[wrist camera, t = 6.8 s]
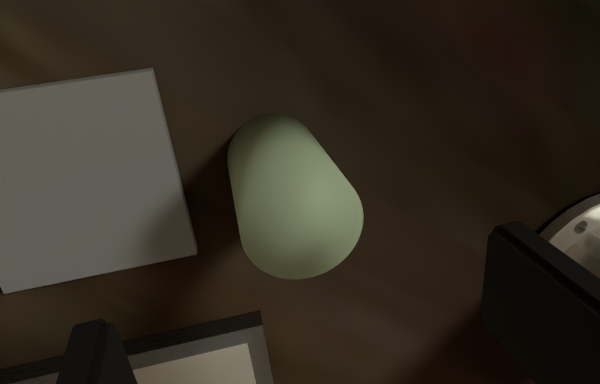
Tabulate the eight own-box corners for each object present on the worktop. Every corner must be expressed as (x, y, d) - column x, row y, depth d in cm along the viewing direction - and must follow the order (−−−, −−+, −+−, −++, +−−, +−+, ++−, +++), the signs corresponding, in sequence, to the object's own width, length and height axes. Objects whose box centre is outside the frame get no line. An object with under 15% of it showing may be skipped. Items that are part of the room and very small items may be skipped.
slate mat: (152, 67, 19) (150, 70, 18) (197, 245, 23) (197, 254, 22) (-80, 101, 18) (-91, 106, 17) (10, 283, 22) (4, 293, 21)
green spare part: (312, 106, 21) (360, 157, 15) (320, 189, 23) (366, 265, 17) (219, 121, 21) (229, 181, 14) (235, 206, 23) (250, 290, 16)
